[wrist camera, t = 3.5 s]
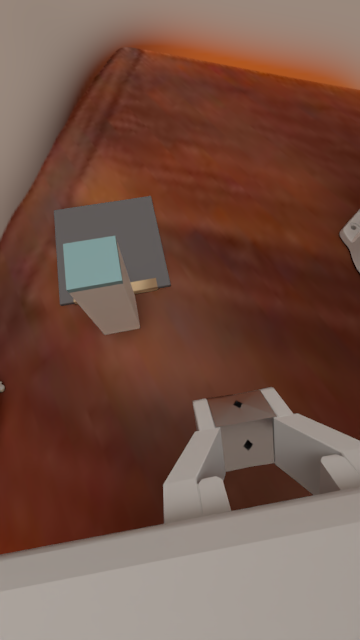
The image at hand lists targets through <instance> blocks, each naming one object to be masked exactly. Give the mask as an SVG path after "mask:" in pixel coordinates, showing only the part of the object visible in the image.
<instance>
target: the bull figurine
mask: <svg viewBox="0 0 360 640" xmlns="http://www.w3.org/2000/svg"><path fill="white" fill-rule="evenodd" d="M4 390H5V386H4V385H2V382H0V392H3V391H4Z"/></svg>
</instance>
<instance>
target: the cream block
mask: <svg viewBox="0 0 360 640" xmlns="http://www.w3.org/2000/svg"><path fill="white" fill-rule="evenodd" d="M63 251H64V264H65V278H66V290H67V291H68V293H69V294H70V295H71V296H72V297H73V298H74V300H75V301H76V302H77V303H78V304H79V305H80V307H81V308H82V309H83V310H84V311H85V312H86V314H87V315H88V316H89V317H90V318H91V319H92V321H93V322H94V323H95V324H96V325H97V327H98V328H99V329H100V330H101V331H102V332H103V334H104V335H107V334H112V333H118V332H123V331H128V330H133V329H138V328H140V323H139V317H138V311H137V305H136V299H135V295H134V292H133V289H132V286H131V283H130V280H129V277H128V273H127V270H126V267H125V264H124V261H123V258H122V255H121V252H120V249H119V246H118V243H117V240H116V237H115V236H110V237H103V238H97V239H91V240H85V241H78V242H72V243H66V244H63Z"/></svg>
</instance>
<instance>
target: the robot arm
mask: <svg viewBox="0 0 360 640" xmlns="http://www.w3.org/2000/svg"><path fill="white" fill-rule="evenodd" d="M340 237H341V239H342V240H343V242H344V243H345V244H346V245H347V247H348V248H349V250H350V252H351V256H352V259H353V262H354V264H355V266H356V268H357V270H358V271H359V273H360V209H359V210H358V211H357V212H356V214H355V215H354V216H353V217H352V218H351V219H350V220H349V221H348V223H347V224H346V225H345V226H344V227H343V228H342V229H341V231H340ZM193 408H194V415H195V422H196V429H197V431H196V432H194V434H193V436H192V437H191V439H190V441H189V442H188V444H187V446H186V447H185V449H184V451H183V452H182V454H181V456H180V457H179V459H178V461H177V462H176V464H175V466H174V467H173V469H172V471H171V472H170V474H169V476H168V477H167V479H166V481H165V482H164V484H163V497H164V524H160V525H155V526H149V527H144V528H139V529H134V530H128V531H123V532H118V533H112V534H107V535H102V536H97V537H91V538H86V539H81V540H75V541H70V542H65V543H60V544H54V545H49V546H44V547H38V548H33V549H28V550H22V551H17V552H12V553H6V554H1V555H0V640H360V441H359V440H357V439H355V438H352V437H350V436H348V435H346V434H343V433H341V432H339V431H336V430H334V429H332V428H330V427H327V426H325V425H323V424H321V423H318V422H316V421H314V420H312V419H309V418H307V417H305V416H303V415H300V414H298V413H297V414H293V413H292V411H291V410H290V409H289V407H288V406H287V405H286V403H285V402H284V401H283V400H282V398H281V397H280V396H279V394H278V393H277V392H276V391H275V389H274V388H272V387H269V388H264V389H259V390H256V391H250V392H245V393H239V394H234V395H233V394H232V395H226V396H219V397H212V398H206V399H200V400H194V401H193ZM271 463H275V465H277V466H278V467H279V468H280V469H282V470H283V471H284V472H285V473H287V474H288V475H289V476H290V477H292V478H293V479H294V480H296V481H297V482H298V483H299V484H301V485H302V486H303V487H304V488H306V489H307V490H308V491H309V492H311V493H312V494H313V496H308V497H303V498H297V499H292V500H287V501H282V502H276V503H271V504H266V505H260V506H255V507H250V508H245V509H239V510H234V511H231V508H230V505H229V501H228V498H227V494H226V490H225V487H224V483H223V481H224V477H225V474H226V472H228V471H232V470H237V469H242V468H246V467H252V466H258V465H265V464H271Z"/></svg>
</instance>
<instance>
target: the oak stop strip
mask: <svg viewBox="0 0 360 640" xmlns="http://www.w3.org/2000/svg"><path fill="white" fill-rule="evenodd" d="M130 283H131V286H132V289H133V292H134V294H138V293H144V292H149V291H155V290H158V286H157V281H156V278H152V279H146V280H141V281H135V282H130ZM73 299H74V298H73ZM74 303H75V304H76V305H77V304H78V303H77V302H76V301H75V300H74Z"/></svg>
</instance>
